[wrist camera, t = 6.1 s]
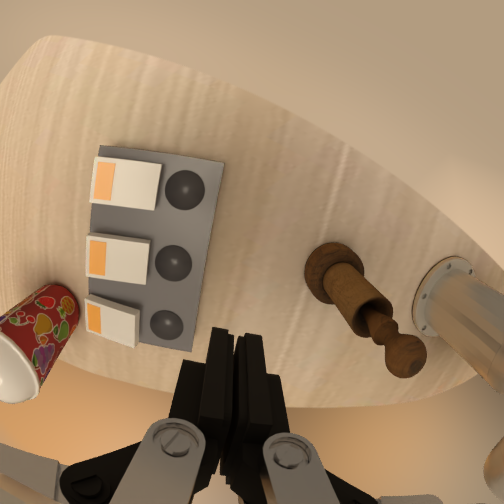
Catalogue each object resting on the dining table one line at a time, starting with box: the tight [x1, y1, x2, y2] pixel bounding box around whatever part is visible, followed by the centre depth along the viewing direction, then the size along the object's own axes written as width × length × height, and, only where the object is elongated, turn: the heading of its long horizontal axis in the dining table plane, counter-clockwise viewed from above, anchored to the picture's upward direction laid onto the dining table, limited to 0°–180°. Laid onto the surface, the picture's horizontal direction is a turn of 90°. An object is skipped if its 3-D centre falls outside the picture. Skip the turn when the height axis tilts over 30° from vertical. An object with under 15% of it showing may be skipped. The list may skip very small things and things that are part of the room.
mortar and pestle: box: [305, 243, 427, 378], centre depth 24 cm, size 7×6×18 cm
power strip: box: [89, 145, 225, 352], centre depth 28 cm, size 12×20×4 cm, turn 168°
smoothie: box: [0, 285, 79, 404], centre depth 22 cm, size 8×8×20 cm
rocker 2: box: [84, 294, 140, 348], centre depth 27 cm, size 6×4×1 cm, turn 78°
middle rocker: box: [86, 232, 151, 285], centre depth 25 cm, size 6×4×1 cm, turn 77°
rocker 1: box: [89, 156, 162, 211], centre depth 23 cm, size 6×4×1 cm, turn 77°
